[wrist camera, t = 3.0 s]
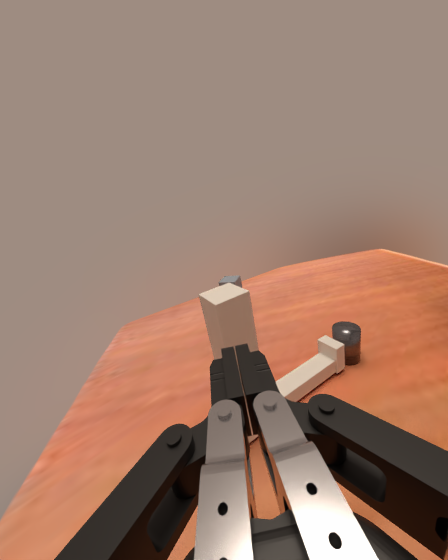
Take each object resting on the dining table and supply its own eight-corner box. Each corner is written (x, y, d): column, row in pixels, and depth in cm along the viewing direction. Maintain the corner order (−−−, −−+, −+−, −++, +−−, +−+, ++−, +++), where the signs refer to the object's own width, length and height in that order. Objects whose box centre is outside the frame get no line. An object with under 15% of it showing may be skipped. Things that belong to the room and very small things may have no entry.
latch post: (249, 332, 46) (240, 275, 42) (245, 341, 43) (234, 282, 39) (235, 331, 47) (224, 276, 43) (230, 340, 44) (218, 282, 40)
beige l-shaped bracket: (324, 356, 35) (319, 247, 29) (346, 369, 32) (345, 250, 27) (219, 428, 27) (184, 299, 22) (235, 453, 24) (200, 311, 19)
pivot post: (337, 346, 37) (336, 319, 36) (362, 353, 35) (363, 324, 33) (330, 360, 35) (328, 331, 33) (357, 368, 32) (357, 338, 31)
